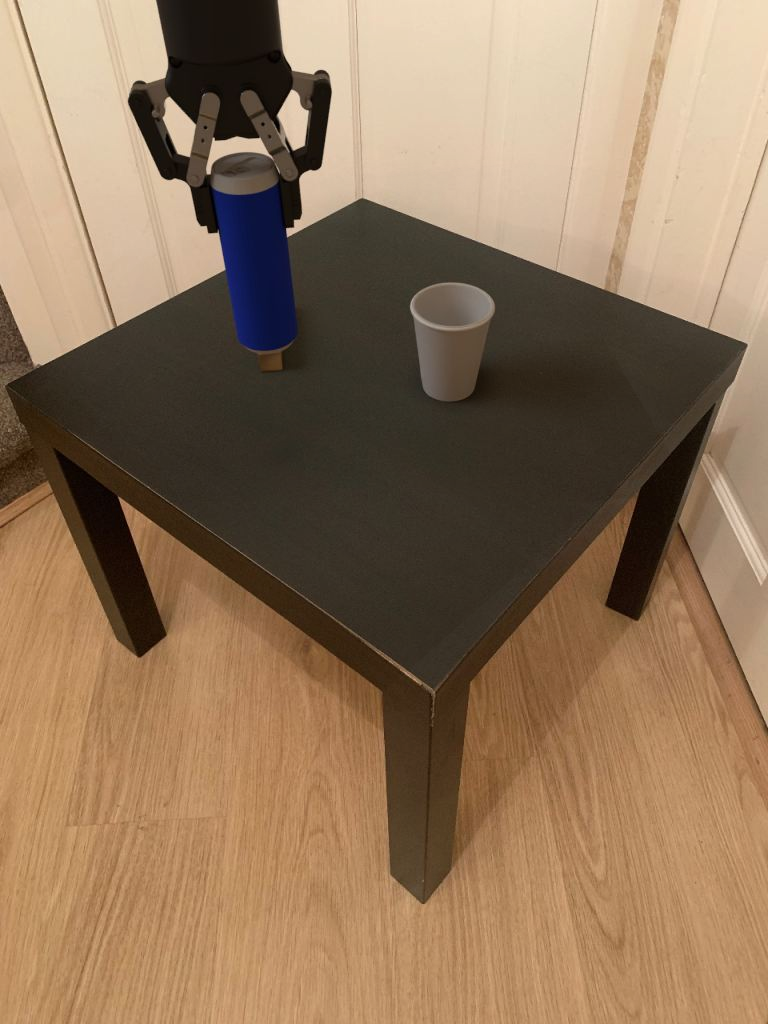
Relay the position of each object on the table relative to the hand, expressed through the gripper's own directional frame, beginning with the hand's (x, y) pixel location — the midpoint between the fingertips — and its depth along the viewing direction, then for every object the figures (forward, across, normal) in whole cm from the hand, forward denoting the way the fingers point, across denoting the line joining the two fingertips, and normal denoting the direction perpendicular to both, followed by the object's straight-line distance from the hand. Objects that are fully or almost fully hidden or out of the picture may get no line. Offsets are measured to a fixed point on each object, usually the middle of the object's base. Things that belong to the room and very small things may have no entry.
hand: (251, 225), depth 61 cm
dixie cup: (+24, -18, -9) cm, 31 cm away
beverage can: (+11, 0, 0) cm, 11 cm away
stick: (+24, +1, -20) cm, 31 cm away
